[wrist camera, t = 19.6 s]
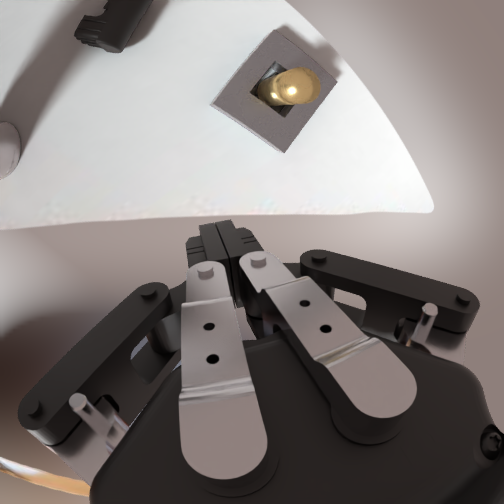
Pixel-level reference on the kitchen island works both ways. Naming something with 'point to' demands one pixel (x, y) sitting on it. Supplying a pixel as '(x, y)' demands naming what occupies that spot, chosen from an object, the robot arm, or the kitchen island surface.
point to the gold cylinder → (290, 87)
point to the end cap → (112, 25)
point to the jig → (257, 112)
